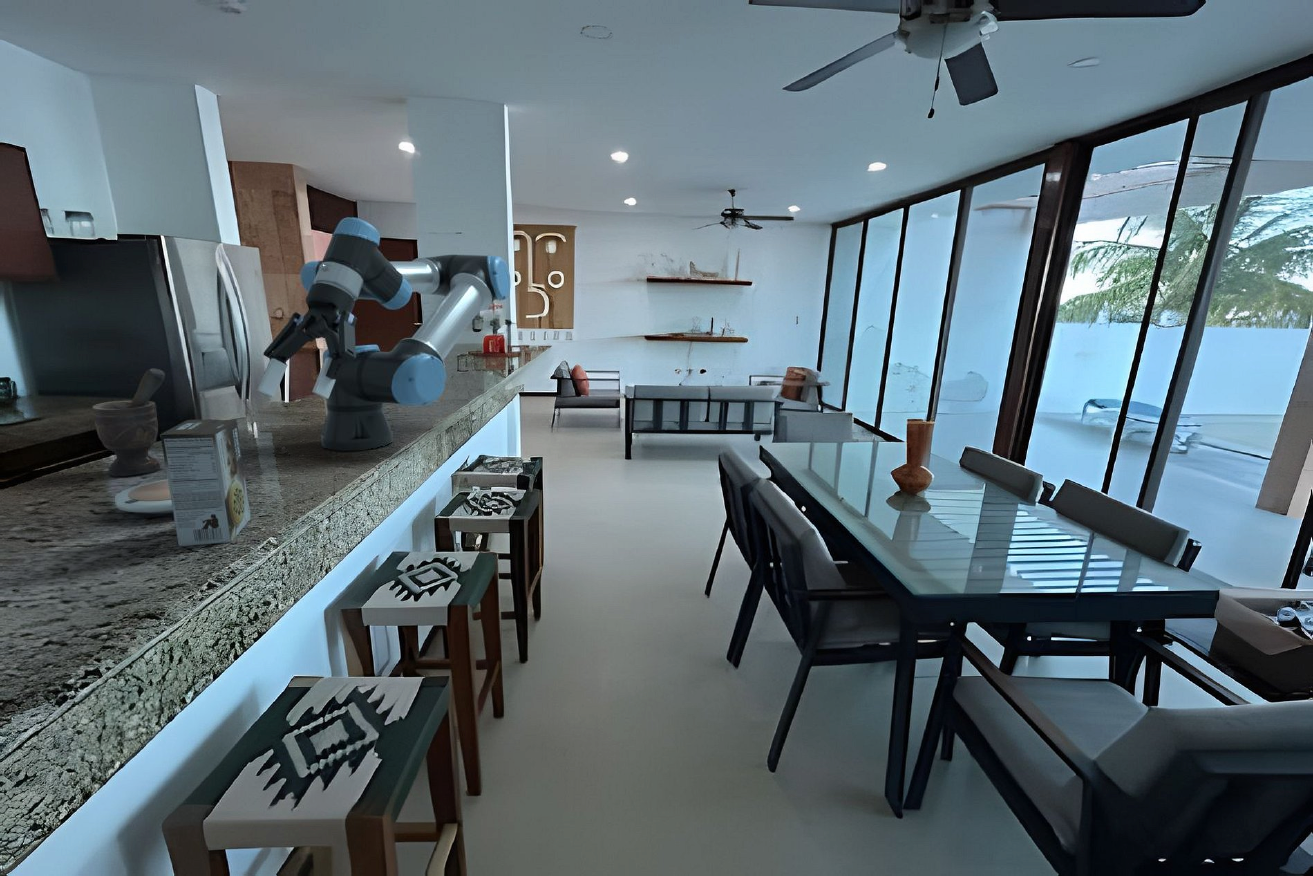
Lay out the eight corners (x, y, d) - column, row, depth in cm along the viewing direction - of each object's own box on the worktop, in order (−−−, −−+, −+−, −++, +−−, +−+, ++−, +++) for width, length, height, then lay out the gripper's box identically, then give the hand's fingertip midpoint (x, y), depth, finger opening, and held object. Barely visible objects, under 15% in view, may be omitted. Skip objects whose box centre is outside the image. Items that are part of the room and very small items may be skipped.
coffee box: (202, 522, 85) (186, 419, 81) (252, 519, 87) (239, 418, 83) (176, 547, 76) (156, 433, 73) (232, 542, 79) (216, 431, 75)
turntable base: (184, 493, 96) (183, 485, 96) (231, 500, 94) (230, 491, 94) (118, 513, 87) (116, 504, 86) (169, 521, 85) (168, 512, 84)
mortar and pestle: (192, 463, 113) (176, 364, 108) (176, 475, 105) (159, 369, 100) (117, 467, 108) (98, 364, 103) (95, 480, 100) (73, 370, 96)
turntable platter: (185, 479, 98) (184, 471, 98) (250, 488, 95) (249, 480, 95) (91, 505, 85) (89, 497, 84) (164, 517, 82) (162, 508, 82)
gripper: (270, 284, 106) (224, 384, 99) (369, 276, 97) (326, 386, 90) (304, 306, 113) (263, 401, 106) (399, 301, 104) (361, 404, 97)
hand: (292, 394), depth 98 cm, fingers open, 13 cm apart
